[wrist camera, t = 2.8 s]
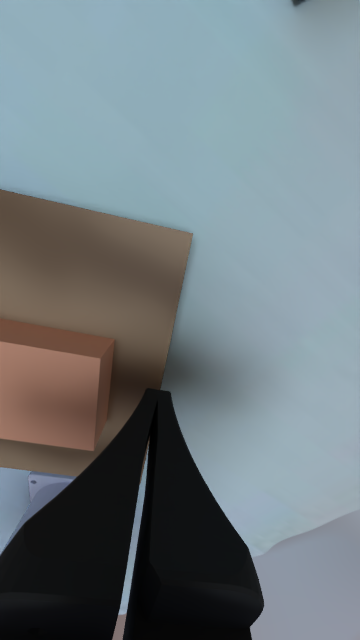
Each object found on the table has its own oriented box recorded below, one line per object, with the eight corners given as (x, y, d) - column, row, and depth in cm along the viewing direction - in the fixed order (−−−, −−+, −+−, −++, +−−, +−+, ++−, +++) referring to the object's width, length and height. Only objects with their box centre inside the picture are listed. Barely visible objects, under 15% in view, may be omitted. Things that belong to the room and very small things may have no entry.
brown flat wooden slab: (145, 452, 17) (140, 484, 15) (-21, 429, 16) (-55, 460, 14) (190, 237, 11) (192, 233, 9) (-72, 178, 10) (-150, 155, 8)
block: (106, 420, 12) (93, 451, 10) (-24, 401, 12) (-62, 430, 10) (114, 339, 10) (100, 358, 8) (-42, 310, 10) (-94, 325, 8)
